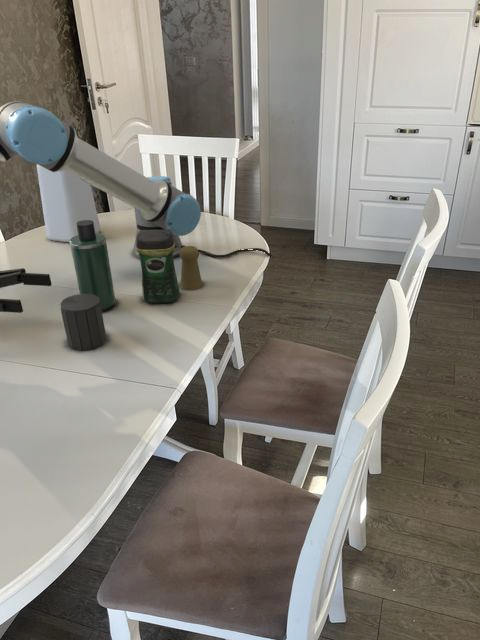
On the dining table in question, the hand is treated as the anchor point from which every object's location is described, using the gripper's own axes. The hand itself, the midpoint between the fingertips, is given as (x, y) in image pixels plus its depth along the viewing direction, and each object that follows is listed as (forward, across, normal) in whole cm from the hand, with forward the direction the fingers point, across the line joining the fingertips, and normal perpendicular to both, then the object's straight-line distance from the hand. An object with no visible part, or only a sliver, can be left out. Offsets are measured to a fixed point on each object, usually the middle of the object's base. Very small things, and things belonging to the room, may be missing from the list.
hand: (36, 292), depth 120 cm
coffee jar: (+21, -24, -12) cm, 34 cm away
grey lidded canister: (+10, 0, -12) cm, 15 cm away
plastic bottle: (-22, -68, -12) cm, 73 cm away
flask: (+6, -18, -12) cm, 22 cm away
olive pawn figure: (+27, -33, -12) cm, 44 cm away
